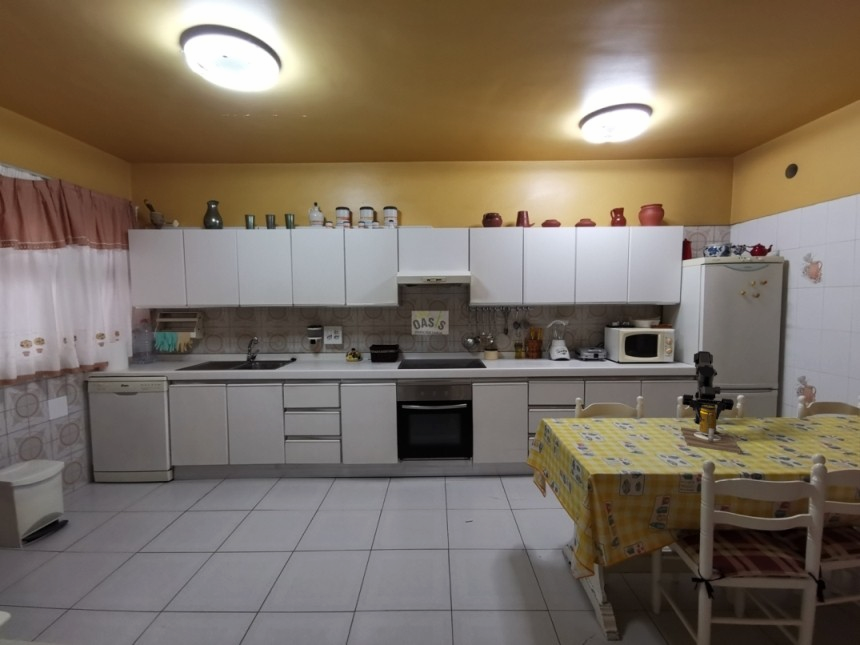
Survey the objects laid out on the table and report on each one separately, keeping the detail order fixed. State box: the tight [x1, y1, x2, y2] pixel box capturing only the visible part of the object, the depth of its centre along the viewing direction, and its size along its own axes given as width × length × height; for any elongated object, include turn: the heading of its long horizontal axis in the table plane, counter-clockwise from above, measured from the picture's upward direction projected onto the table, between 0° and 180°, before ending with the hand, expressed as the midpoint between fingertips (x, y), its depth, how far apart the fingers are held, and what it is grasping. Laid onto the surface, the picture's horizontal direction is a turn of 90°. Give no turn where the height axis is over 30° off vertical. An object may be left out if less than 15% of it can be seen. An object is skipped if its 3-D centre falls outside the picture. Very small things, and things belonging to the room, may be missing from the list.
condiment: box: [695, 405, 725, 435], centre depth 168 cm, size 7×8×12 cm
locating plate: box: [680, 427, 741, 454], centre depth 167 cm, size 22×18×7 cm
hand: (708, 418), depth 167 cm, fingers closed on condiment, 6 cm apart
